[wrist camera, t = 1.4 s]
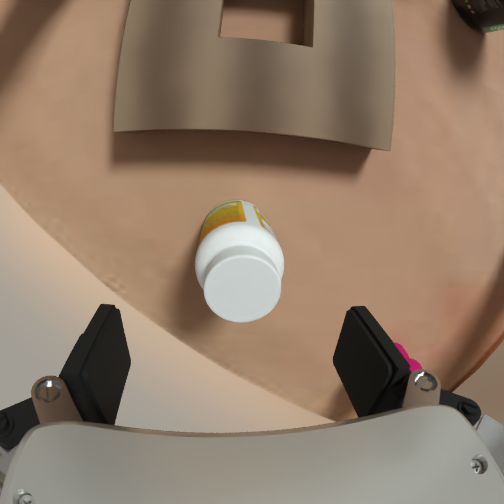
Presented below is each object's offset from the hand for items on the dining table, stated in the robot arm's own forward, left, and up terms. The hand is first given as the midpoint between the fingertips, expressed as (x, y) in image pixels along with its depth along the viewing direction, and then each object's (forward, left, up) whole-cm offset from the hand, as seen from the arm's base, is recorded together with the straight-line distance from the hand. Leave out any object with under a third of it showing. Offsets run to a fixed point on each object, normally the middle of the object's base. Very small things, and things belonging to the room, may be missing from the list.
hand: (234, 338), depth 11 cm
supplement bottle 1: (-1, 0, -14) cm, 14 cm away
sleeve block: (-2, -18, -13) cm, 22 cm away
